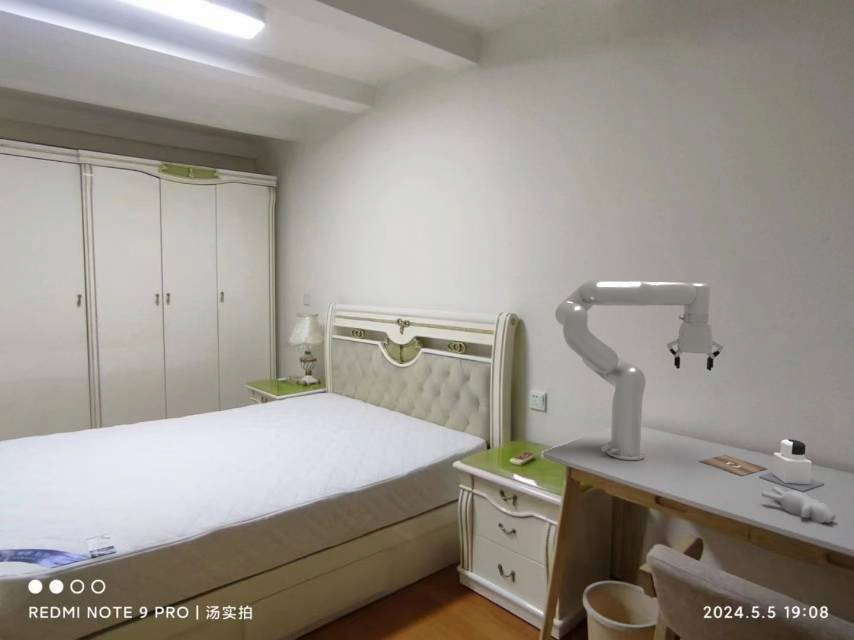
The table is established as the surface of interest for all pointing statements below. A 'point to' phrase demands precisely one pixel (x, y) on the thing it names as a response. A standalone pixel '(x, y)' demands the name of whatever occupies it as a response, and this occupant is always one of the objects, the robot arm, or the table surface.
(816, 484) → the grey mat
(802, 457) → the medicine bottle
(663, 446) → the table surface
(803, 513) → the bunny figurine
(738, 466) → the tile
